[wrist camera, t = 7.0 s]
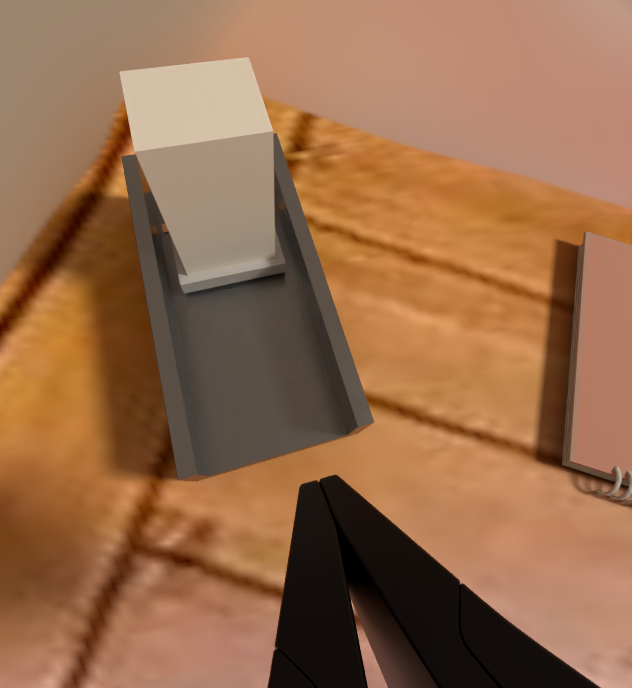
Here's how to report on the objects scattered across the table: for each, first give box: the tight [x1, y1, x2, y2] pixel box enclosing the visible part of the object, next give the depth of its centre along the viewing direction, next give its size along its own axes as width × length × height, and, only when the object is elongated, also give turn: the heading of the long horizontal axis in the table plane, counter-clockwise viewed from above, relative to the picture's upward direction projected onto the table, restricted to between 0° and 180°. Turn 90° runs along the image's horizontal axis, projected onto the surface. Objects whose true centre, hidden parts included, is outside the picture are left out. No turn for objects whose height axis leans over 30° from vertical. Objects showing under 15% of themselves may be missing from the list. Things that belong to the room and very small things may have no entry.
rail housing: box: [121, 133, 374, 481], centre depth 22 cm, size 18×9×4 cm, turn 17°
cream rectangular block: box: [120, 57, 286, 294], centre depth 19 cm, size 5×6×10 cm
